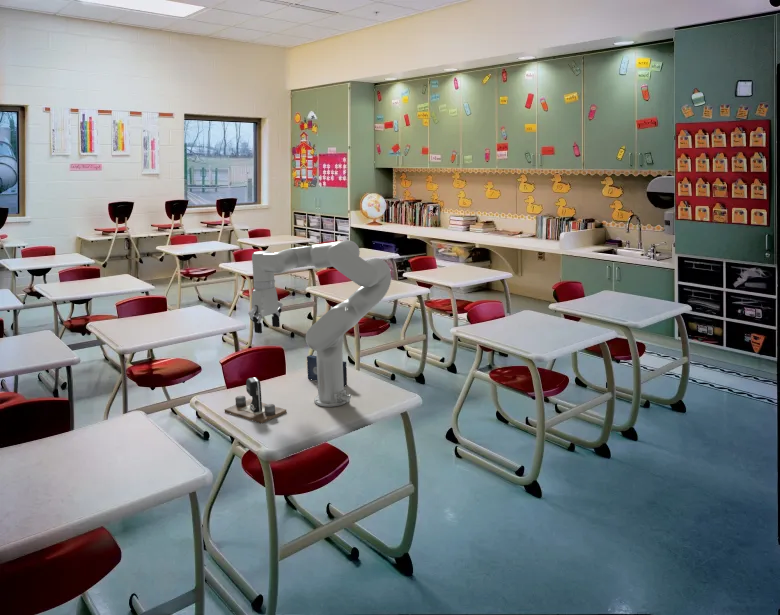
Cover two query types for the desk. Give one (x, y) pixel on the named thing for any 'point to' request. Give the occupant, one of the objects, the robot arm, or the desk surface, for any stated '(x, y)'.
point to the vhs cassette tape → (313, 369)
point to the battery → (254, 393)
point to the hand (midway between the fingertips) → (267, 329)
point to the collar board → (245, 411)
